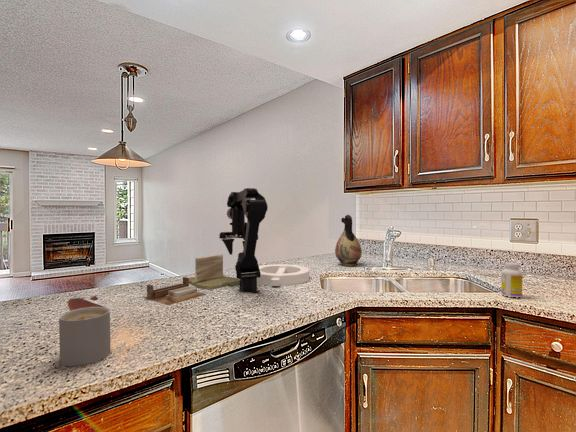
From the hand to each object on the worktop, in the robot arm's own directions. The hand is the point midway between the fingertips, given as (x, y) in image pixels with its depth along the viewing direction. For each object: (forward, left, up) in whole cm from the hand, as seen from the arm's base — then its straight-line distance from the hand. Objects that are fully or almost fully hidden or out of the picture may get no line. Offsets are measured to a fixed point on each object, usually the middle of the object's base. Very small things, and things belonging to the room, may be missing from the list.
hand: (238, 255), depth 144 cm
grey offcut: (-1, +30, -10) cm, 32 cm away
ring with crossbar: (-8, -20, -14) cm, 26 cm away
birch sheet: (+9, +8, -10) cm, 16 cm away
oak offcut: (-1, +30, -12) cm, 32 cm away
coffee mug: (-18, +70, -13) cm, 74 cm away
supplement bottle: (-100, -47, -13) cm, 111 cm away
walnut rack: (+4, +30, -13) cm, 33 cm away
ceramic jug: (-20, -72, -13) cm, 76 cm away
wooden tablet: (+19, +54, -14) cm, 59 cm away
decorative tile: (+9, +8, -14) cm, 18 cm away
